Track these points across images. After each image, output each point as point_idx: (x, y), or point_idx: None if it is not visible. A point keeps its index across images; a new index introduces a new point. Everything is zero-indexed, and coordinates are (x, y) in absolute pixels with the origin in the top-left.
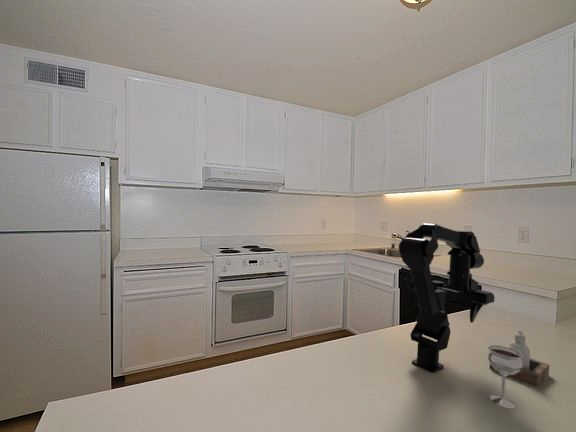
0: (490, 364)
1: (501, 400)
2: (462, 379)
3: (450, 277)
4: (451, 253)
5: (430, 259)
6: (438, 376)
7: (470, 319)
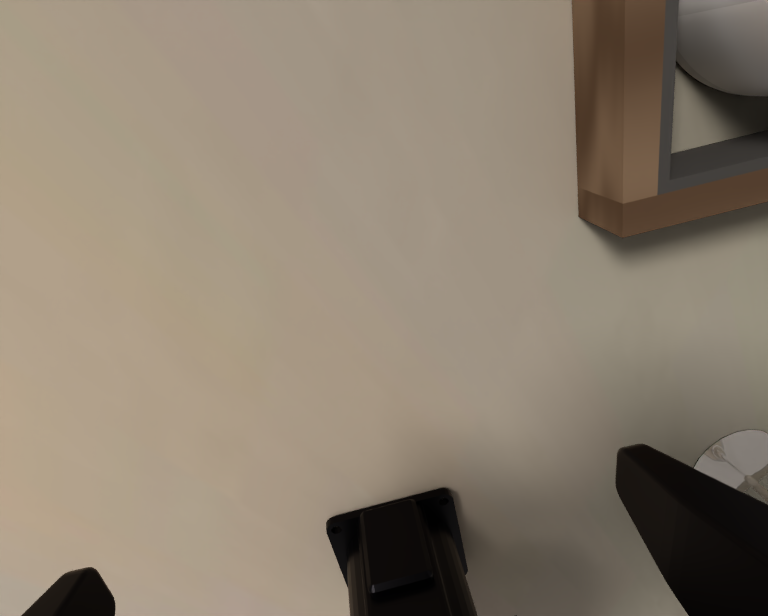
0: (597, 223)
1: (741, 485)
2: (562, 483)
3: None
4: None
5: None
6: (493, 558)
7: (658, 549)
